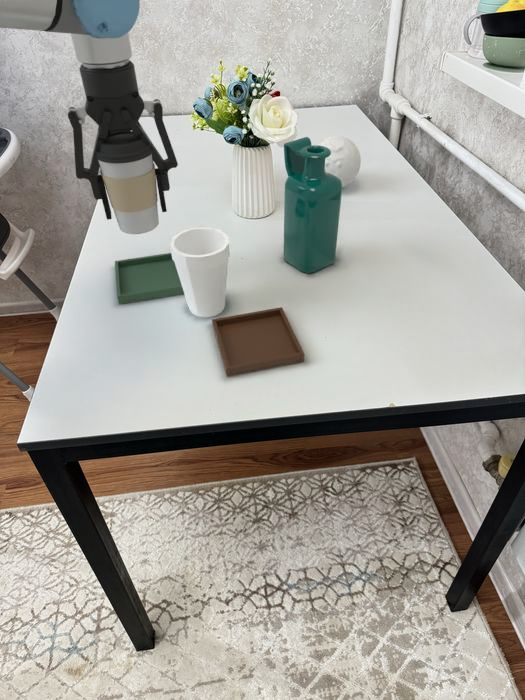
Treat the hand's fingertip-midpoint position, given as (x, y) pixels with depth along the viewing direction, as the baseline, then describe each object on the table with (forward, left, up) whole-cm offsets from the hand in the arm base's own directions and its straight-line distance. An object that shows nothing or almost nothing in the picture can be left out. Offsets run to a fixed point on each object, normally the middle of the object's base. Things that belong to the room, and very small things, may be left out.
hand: (136, 211), depth 84 cm
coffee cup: (0, 0, -3) cm, 3 cm away
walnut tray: (+15, -23, -14) cm, 31 cm away
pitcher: (+31, -1, -14) cm, 34 cm away
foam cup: (+9, -11, -14) cm, 20 cm away
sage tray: (0, 0, -14) cm, 14 cm away
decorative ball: (+48, +29, -14) cm, 58 cm away
